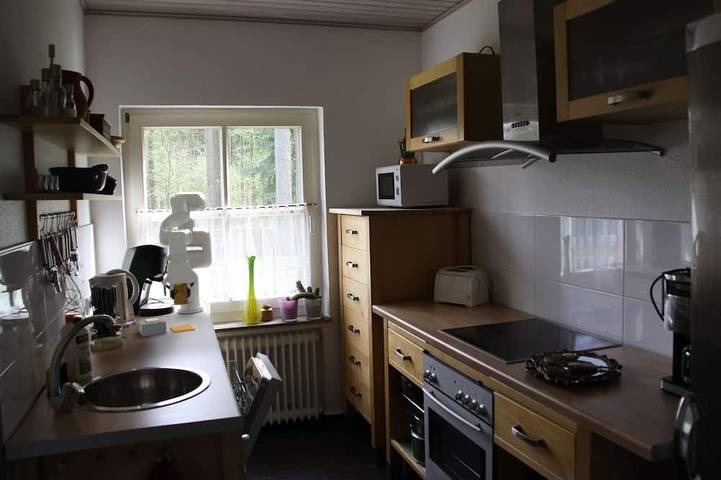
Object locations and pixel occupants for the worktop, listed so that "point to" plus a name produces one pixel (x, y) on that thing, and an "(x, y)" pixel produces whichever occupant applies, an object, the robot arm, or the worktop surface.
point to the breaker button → (152, 320)
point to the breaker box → (152, 327)
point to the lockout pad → (182, 328)
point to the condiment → (180, 294)
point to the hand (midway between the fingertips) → (180, 297)
